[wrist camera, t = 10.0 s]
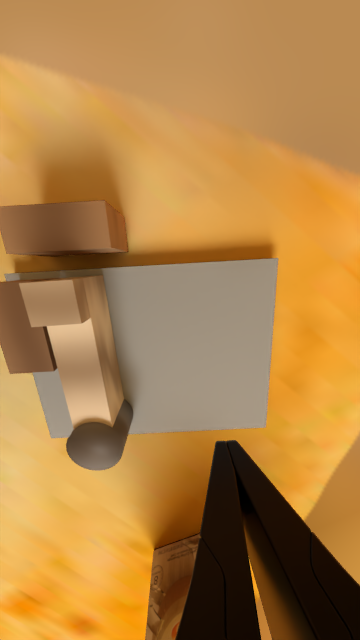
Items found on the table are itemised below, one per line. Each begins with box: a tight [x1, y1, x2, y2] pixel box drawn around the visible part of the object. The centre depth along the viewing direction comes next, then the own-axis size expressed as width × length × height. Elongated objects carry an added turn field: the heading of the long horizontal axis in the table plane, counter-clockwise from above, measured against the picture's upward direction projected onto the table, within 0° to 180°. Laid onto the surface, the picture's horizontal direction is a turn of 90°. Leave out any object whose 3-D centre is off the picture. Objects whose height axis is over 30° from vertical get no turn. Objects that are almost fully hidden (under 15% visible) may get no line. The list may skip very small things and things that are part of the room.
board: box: [5, 258, 278, 438], centre depth 17 cm, size 20×15×1 cm
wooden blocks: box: [0, 200, 128, 374], centre depth 14 cm, size 8×10×4 cm
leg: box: [19, 275, 133, 470], centre depth 14 cm, size 14×4×4 cm, turn 4°
